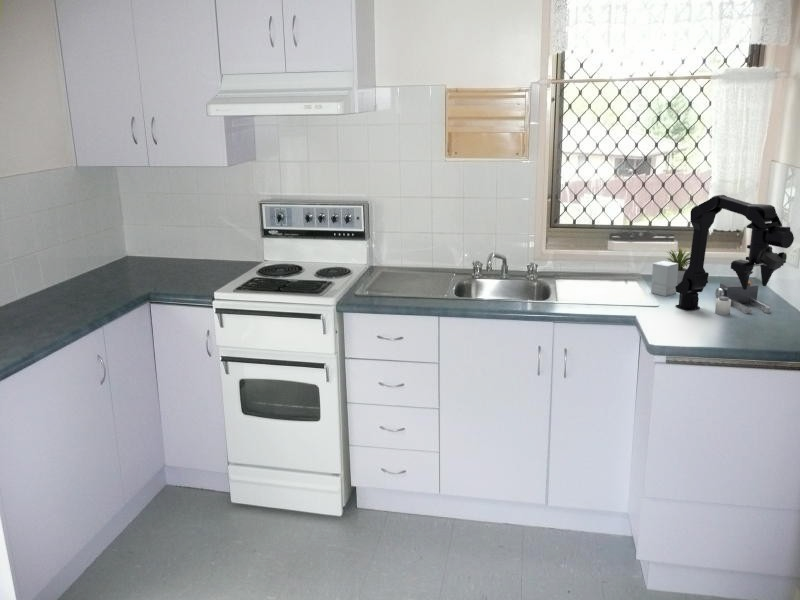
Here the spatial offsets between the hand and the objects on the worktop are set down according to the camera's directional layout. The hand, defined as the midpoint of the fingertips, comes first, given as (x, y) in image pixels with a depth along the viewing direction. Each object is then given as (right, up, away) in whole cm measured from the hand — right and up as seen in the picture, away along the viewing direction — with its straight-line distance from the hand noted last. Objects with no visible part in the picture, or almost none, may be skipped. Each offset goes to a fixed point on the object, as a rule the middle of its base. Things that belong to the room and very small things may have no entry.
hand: (754, 287), depth 244 cm
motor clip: (+10, -7, +29) cm, 31 cm away
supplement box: (-13, -2, +49) cm, 51 cm away
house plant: (-3, +3, +62) cm, 62 cm away
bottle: (-1, -9, +22) cm, 23 cm away
